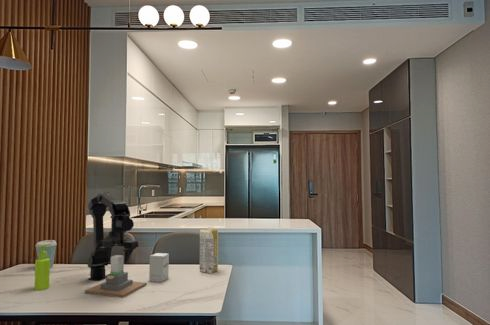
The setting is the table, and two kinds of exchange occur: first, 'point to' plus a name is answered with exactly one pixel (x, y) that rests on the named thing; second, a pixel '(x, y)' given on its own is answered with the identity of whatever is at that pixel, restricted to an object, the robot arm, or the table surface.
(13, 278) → the table surface
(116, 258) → the block
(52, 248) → the disposable coffee cup
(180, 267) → the table surface
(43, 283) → the soap dispenser
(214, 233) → the juice carton
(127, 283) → the tan base plate
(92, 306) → the table surface
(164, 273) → the supplement box
